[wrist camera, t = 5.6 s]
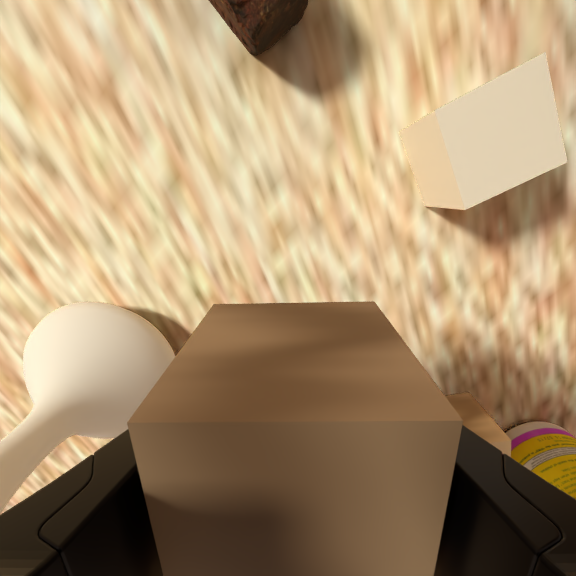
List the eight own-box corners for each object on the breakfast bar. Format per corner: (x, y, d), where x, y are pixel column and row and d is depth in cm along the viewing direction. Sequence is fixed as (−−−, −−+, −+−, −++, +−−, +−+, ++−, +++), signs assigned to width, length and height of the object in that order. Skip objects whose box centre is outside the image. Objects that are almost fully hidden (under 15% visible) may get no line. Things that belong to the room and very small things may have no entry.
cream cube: (477, 90, 18) (545, 51, 13) (498, 170, 19) (567, 162, 14) (398, 132, 18) (434, 110, 14) (423, 206, 20) (465, 210, 15)
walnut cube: (374, 301, 9) (463, 420, 4) (365, 431, 11) (424, 625, 6) (214, 304, 9) (127, 423, 4) (227, 432, 11) (174, 623, 6)
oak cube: (468, 391, 24) (511, 440, 19) (469, 439, 25) (509, 495, 21) (406, 400, 24) (433, 450, 20) (410, 447, 26) (437, 504, 21)
